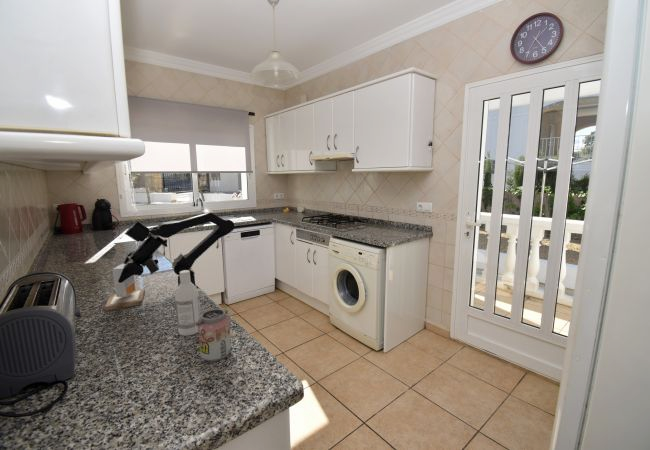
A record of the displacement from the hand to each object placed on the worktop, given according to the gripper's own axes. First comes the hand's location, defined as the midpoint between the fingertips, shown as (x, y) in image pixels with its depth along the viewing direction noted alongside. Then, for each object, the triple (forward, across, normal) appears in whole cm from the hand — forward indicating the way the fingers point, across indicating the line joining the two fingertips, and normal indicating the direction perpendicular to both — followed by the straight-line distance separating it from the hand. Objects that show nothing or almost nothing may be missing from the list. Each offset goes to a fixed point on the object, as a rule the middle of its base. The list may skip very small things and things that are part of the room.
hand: (119, 279), depth 120 cm
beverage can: (-13, -58, -22) cm, 64 cm away
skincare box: (+4, 0, -6) cm, 7 cm away
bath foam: (-9, -41, -20) cm, 46 cm away
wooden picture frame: (+6, -1, -7) cm, 9 cm away
